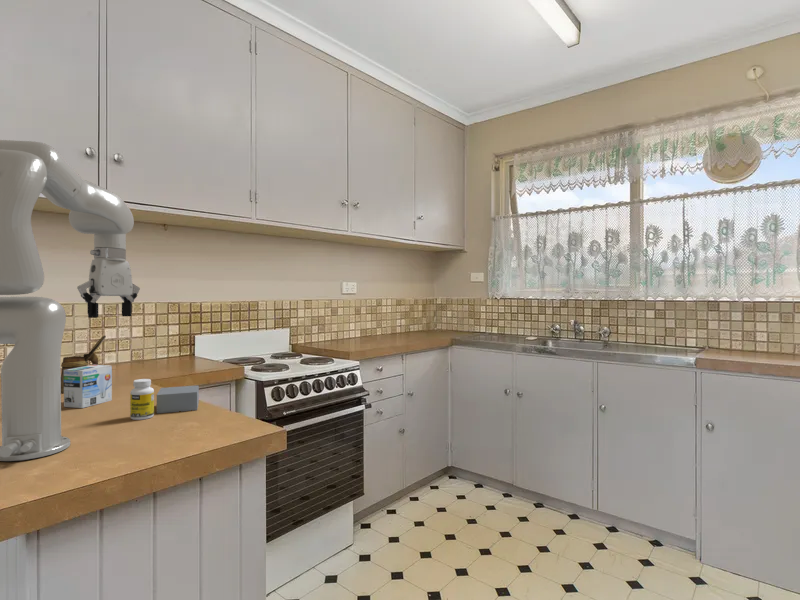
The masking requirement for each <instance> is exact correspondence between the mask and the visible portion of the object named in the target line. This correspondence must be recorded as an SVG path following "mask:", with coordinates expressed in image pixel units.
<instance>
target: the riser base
mask: <svg viewBox="0 0 800 600" xmlns="http://www.w3.org/2000/svg"><path fill="white" fill-rule="evenodd" d="M199 390H200V386H199V385H185V386H171V387H160V389H159V390H158V392H157V394H156V414H166V413H167V414H168V413H178V412H179V411H181V412H192V411H198V409H199V403H200V402H199V401H200V400H199V397H200V396H199ZM191 410H192V411H191ZM179 413H180V412H179Z"/></svg>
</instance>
